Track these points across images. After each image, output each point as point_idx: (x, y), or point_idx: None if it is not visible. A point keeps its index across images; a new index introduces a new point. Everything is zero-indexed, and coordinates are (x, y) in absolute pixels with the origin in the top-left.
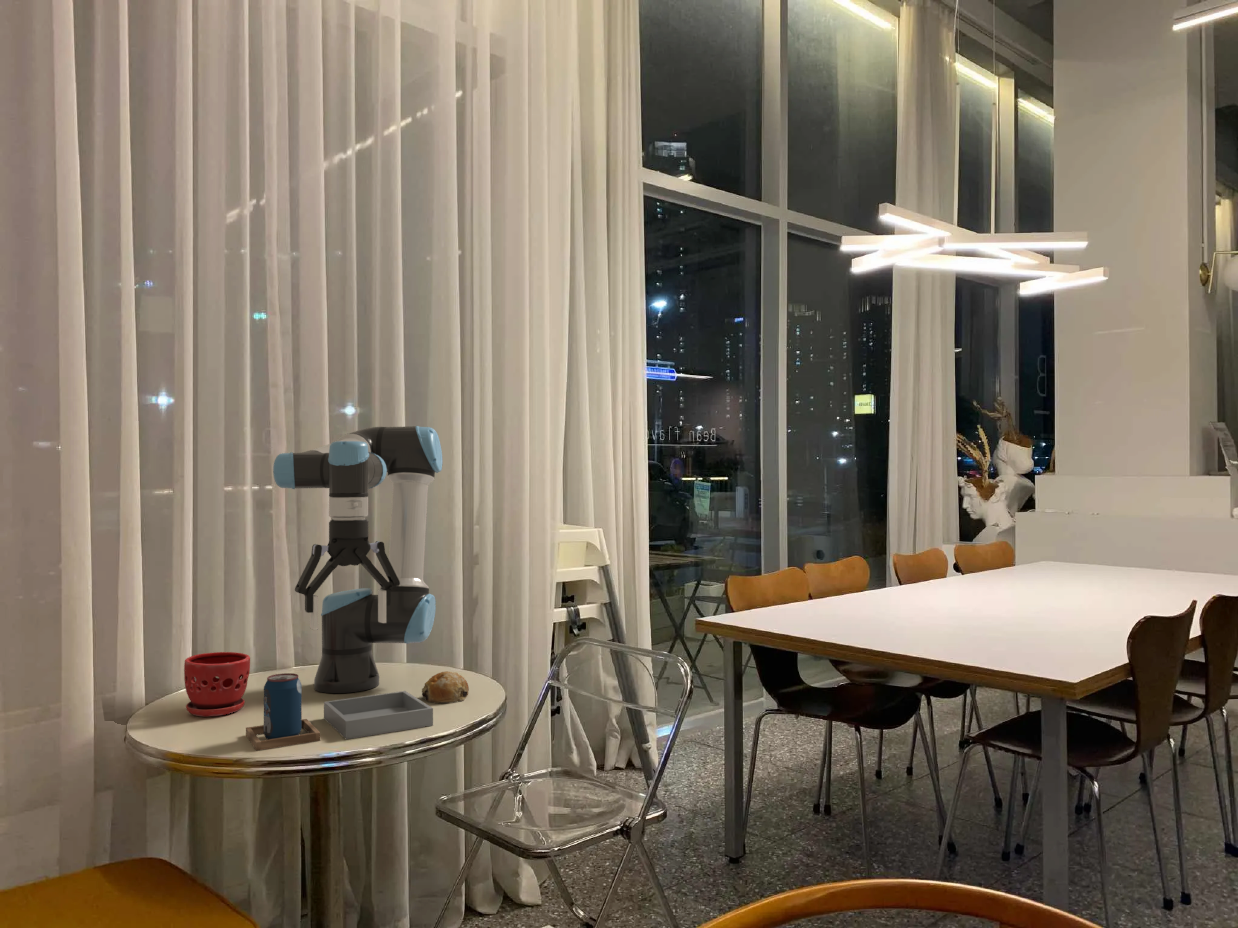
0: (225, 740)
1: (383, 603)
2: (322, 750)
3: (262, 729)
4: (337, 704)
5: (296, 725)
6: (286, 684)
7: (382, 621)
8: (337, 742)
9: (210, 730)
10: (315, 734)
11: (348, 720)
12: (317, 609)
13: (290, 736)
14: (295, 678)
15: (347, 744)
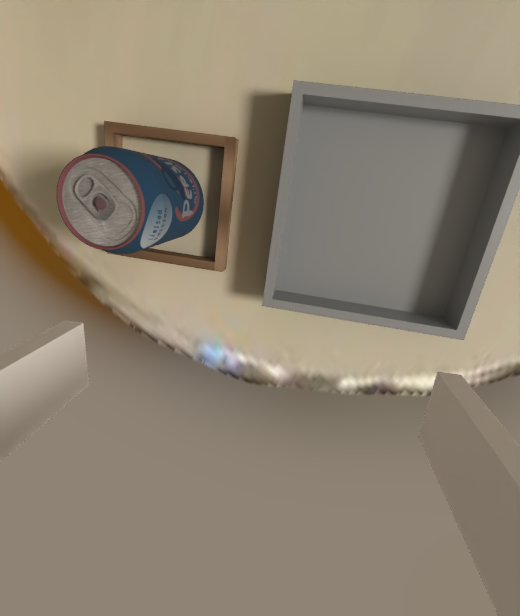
0: (74, 137)
1: (471, 542)
2: (209, 326)
3: (140, 136)
4: (327, 99)
5: (180, 236)
6: (109, 250)
7: (422, 439)
8: (247, 301)
9: (51, 18)
10: (213, 270)
11: (268, 303)
12: (5, 453)
13: (168, 257)
14: (130, 242)
15: (256, 324)
